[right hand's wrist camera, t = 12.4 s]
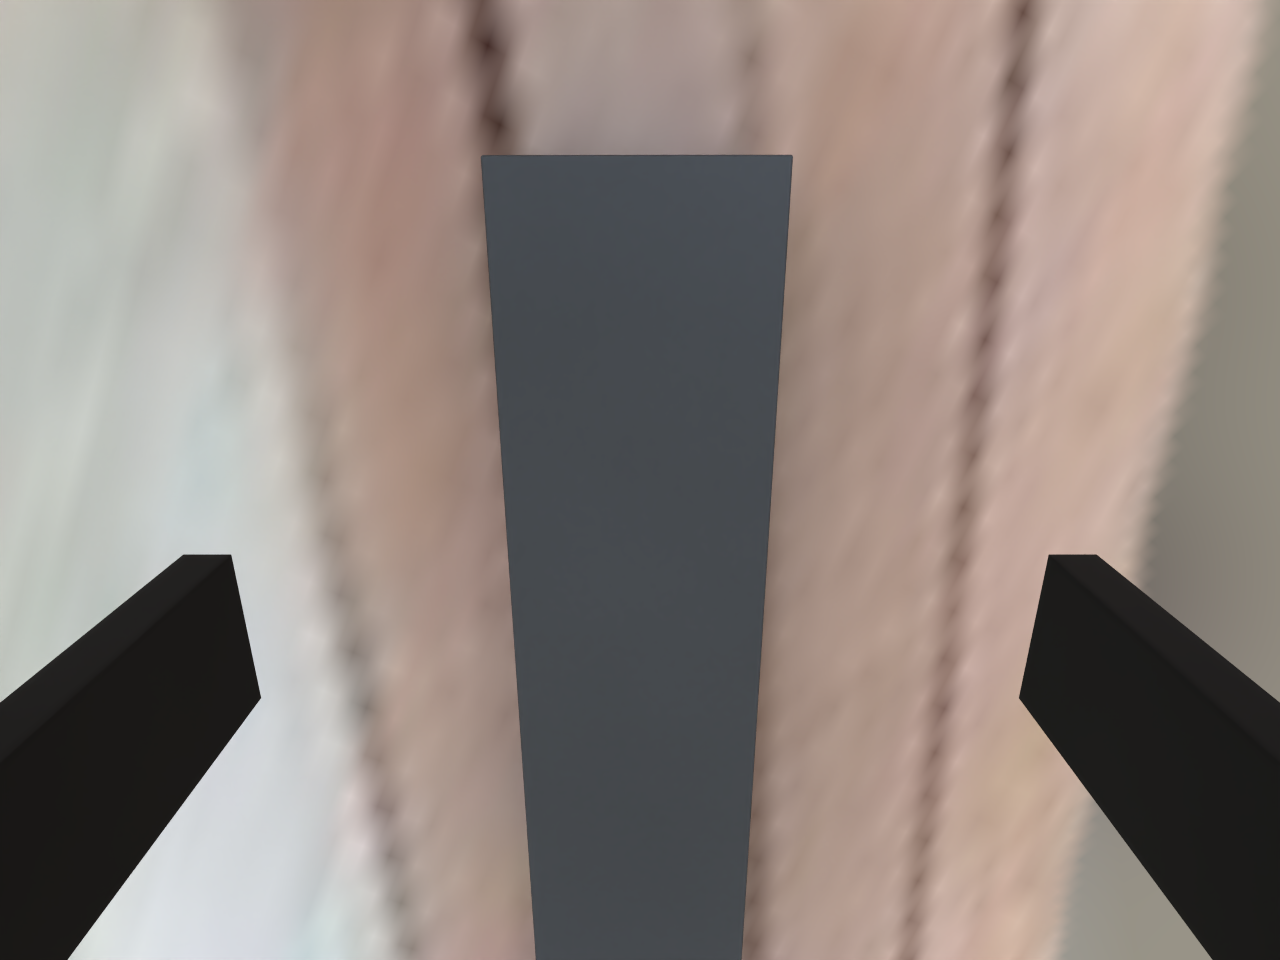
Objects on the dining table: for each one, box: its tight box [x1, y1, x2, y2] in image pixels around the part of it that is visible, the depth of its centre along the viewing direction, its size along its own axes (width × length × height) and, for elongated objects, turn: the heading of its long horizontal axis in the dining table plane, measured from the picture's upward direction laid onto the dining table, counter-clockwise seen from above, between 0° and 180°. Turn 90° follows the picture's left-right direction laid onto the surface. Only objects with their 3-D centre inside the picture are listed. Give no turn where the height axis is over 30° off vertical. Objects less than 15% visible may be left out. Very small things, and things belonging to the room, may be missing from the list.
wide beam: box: [481, 155, 793, 960], centre depth 40 cm, size 70×10×7 cm, turn 0°
